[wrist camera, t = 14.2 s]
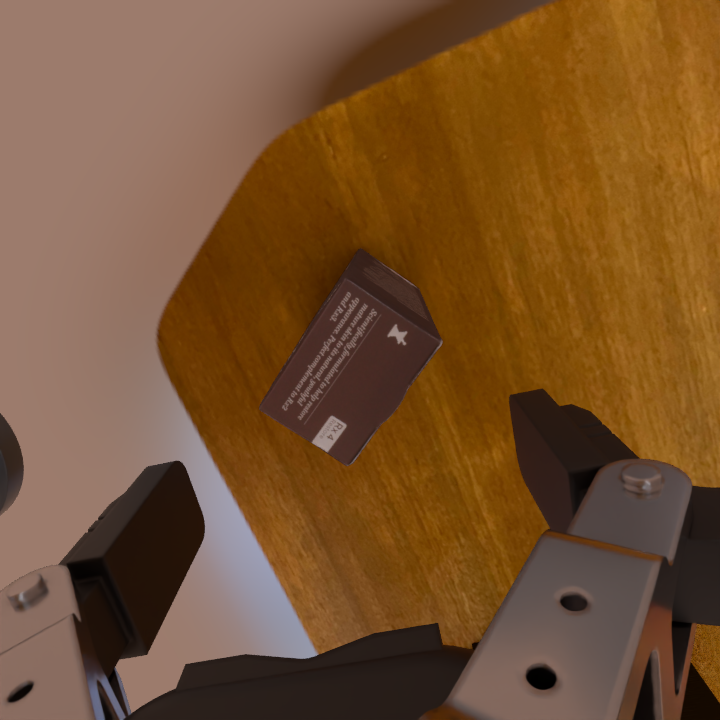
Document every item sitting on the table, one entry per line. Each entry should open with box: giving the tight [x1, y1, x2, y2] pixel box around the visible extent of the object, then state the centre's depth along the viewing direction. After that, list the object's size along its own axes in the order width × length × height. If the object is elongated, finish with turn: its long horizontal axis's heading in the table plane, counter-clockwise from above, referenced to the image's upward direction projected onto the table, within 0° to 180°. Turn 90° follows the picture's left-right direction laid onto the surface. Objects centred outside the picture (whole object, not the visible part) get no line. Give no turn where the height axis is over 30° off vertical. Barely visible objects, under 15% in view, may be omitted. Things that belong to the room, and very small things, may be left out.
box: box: [259, 248, 443, 466], centre depth 23 cm, size 6×4×12 cm
